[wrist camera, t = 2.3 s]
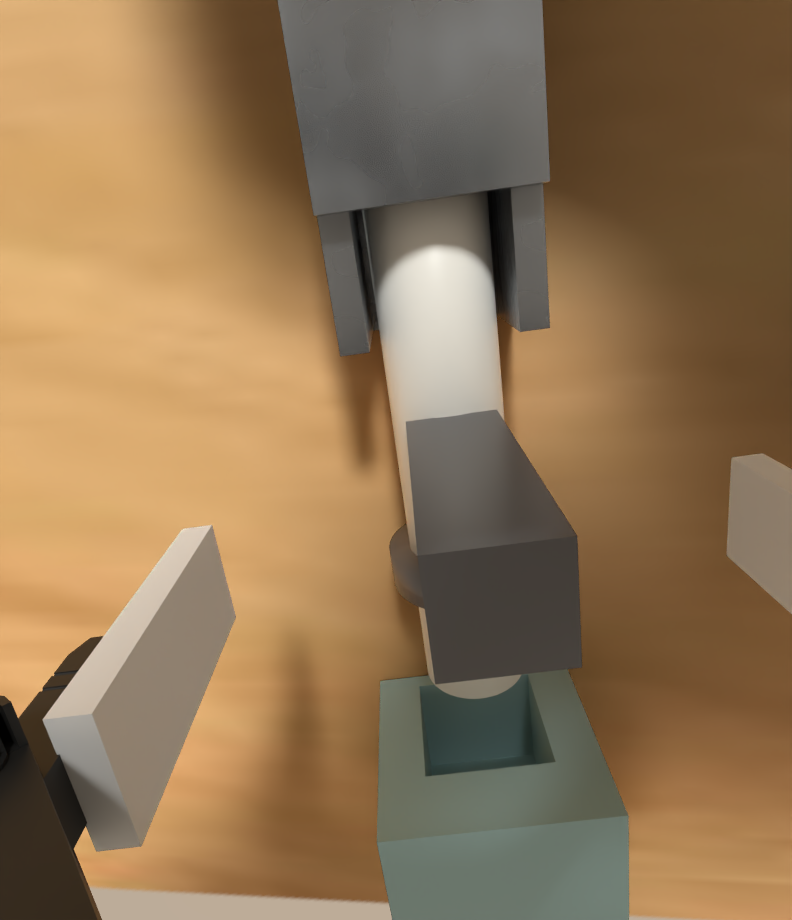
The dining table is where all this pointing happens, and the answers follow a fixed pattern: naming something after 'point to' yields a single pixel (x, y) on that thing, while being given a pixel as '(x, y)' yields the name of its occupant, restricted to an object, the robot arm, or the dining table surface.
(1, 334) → the dining table surface
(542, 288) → the sleeve
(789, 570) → the robot arm
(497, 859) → the socket
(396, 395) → the tube
